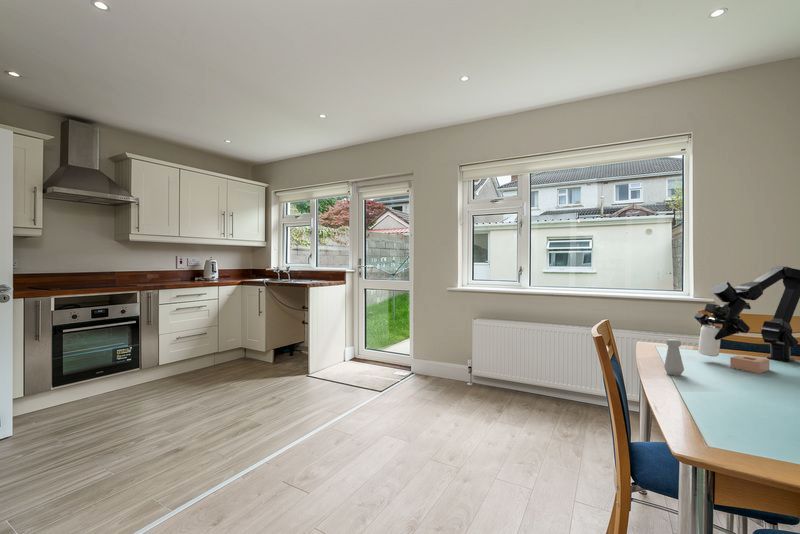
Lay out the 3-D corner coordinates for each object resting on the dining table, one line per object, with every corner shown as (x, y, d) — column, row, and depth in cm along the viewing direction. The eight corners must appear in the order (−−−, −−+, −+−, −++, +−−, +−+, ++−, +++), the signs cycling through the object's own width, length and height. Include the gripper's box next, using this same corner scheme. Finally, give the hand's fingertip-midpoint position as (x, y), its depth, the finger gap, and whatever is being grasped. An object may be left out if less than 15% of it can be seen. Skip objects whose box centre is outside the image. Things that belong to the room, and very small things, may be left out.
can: (703, 355, 145) (706, 327, 143) (695, 350, 151) (697, 323, 149) (722, 357, 143) (725, 328, 141) (713, 352, 149) (716, 324, 148)
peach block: (740, 364, 142) (740, 354, 142) (769, 370, 134) (769, 359, 134) (730, 367, 138) (730, 357, 138) (759, 373, 130) (759, 362, 130)
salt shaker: (688, 376, 128) (687, 341, 128) (672, 377, 128) (671, 341, 128) (675, 371, 134) (675, 337, 134) (660, 372, 134) (660, 337, 134)
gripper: (697, 294, 155) (674, 321, 154) (742, 298, 137) (717, 328, 136) (714, 312, 156) (692, 338, 155) (761, 318, 137) (736, 347, 136)
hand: (707, 337), depth 145 cm, fingers closed on can, 6 cm apart
